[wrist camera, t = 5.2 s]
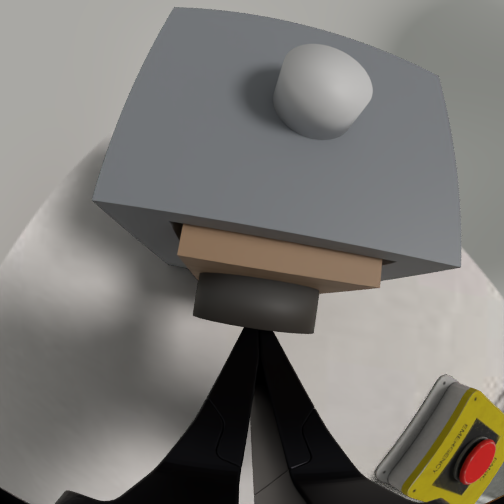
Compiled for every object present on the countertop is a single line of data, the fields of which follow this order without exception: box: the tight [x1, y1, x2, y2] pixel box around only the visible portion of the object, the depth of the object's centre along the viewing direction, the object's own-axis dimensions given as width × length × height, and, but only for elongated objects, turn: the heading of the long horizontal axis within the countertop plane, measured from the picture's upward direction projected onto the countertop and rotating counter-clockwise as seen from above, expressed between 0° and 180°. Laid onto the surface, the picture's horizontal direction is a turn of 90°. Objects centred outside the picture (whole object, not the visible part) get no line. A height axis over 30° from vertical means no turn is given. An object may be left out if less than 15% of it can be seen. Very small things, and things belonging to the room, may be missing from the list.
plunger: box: [177, 223, 382, 334], centre depth 12 cm, size 6×5×10 cm
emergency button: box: [375, 374, 504, 504], centre depth 15 cm, size 9×4×15 cm
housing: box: [92, 7, 461, 281], centre depth 12 cm, size 6×9×13 cm
